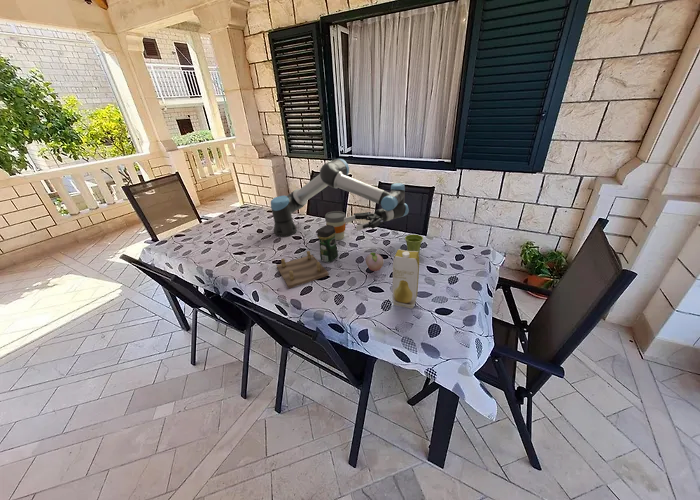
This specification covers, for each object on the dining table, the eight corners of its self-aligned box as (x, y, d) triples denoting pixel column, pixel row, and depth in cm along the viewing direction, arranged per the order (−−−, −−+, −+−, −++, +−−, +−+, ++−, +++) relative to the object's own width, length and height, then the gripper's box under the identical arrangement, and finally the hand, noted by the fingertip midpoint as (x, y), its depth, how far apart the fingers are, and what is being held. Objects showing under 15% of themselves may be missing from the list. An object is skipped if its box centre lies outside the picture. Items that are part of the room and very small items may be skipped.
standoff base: (276, 267, 141) (274, 257, 139) (312, 256, 149) (311, 247, 146) (289, 288, 124) (286, 277, 121) (328, 275, 132) (327, 264, 129)
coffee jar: (329, 253, 152) (325, 222, 143) (340, 256, 148) (337, 225, 139) (317, 260, 145) (313, 229, 136) (329, 264, 141) (325, 232, 132)
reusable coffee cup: (350, 237, 168) (349, 214, 161) (333, 243, 162) (331, 220, 155) (340, 231, 177) (338, 209, 170) (323, 236, 171) (320, 214, 164)
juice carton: (391, 306, 109) (391, 254, 97) (395, 294, 115) (396, 244, 104) (414, 311, 105) (418, 257, 94) (417, 298, 112) (421, 247, 100)
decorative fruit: (386, 273, 130) (386, 255, 125) (370, 277, 128) (369, 259, 123) (379, 264, 138) (378, 247, 133) (364, 267, 136) (363, 250, 131)
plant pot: (401, 253, 146) (401, 238, 142) (410, 246, 152) (411, 232, 148) (416, 258, 141) (417, 243, 136) (425, 251, 146) (426, 237, 142)
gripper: (397, 228, 143) (362, 238, 135) (371, 215, 163) (340, 223, 155) (397, 214, 140) (362, 224, 132) (371, 203, 160) (339, 211, 151)
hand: (350, 224), depth 143 cm, fingers open, 13 cm apart
